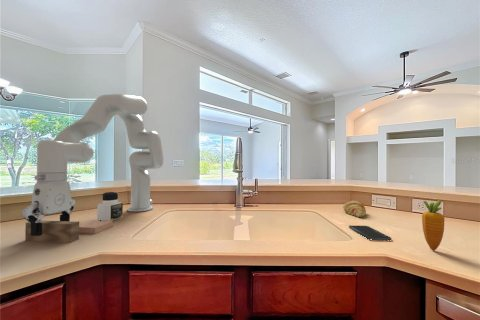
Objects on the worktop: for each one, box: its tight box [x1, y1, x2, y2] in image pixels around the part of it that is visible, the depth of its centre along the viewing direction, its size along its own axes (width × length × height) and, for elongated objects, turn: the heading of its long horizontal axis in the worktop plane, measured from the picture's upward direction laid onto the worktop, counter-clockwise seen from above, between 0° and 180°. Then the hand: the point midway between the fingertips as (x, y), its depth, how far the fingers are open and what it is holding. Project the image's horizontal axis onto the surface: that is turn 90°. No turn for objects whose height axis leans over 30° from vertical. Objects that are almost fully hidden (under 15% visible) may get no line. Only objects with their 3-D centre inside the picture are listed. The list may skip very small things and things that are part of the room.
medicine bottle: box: [96, 191, 124, 221], centre depth 98 cm, size 7×7×12 cm
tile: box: [79, 220, 114, 235], centre depth 82 cm, size 3×9×8 cm
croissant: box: [342, 199, 367, 218], centre depth 112 cm, size 21×10×8 cm, turn 167°
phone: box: [348, 225, 392, 241], centre depth 80 cm, size 8×1×15 cm
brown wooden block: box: [24, 219, 80, 243], centre depth 71 cm, size 16×3×6 cm, turn 85°
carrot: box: [421, 200, 445, 251], centre depth 64 cm, size 5×5×15 cm
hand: (51, 230), depth 71 cm, fingers open, 9 cm apart
